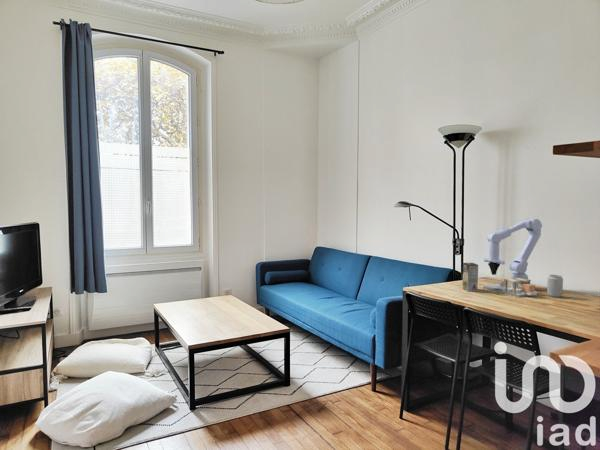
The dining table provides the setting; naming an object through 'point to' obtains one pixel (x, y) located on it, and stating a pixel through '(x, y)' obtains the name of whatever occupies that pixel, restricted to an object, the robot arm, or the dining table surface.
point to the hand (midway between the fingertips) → (493, 274)
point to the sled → (501, 284)
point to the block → (528, 288)
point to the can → (555, 286)
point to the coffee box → (470, 277)
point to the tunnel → (514, 280)
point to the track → (509, 291)
